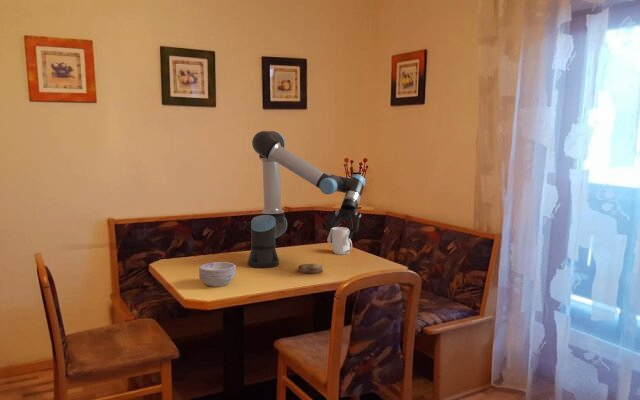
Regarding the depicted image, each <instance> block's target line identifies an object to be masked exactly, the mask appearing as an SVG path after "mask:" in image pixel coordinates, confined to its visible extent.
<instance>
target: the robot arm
mask: <svg viewBox="0 0 640 400" xmlns="http://www.w3.org/2000/svg"><path fill="white" fill-rule="evenodd" d="M251 143H252V148H253V150H254V152H255V153H257V154H258V156H259V160H260V161H261V162H262V180H263V181H262V183H263V184H262V185H263V210H262V211H261V212H260V213H261V215H257V216H254V217H252V219H251V222H250V223H251V224H250V229H251V230H250V235H251V237H250V238H251V248H250V249H251V250H250V252H249V256H248V259H247V266H249V267H250V268H257V269H267V268H274V267H275V268H276V267H277V266H279V265H280V258H279V256H278V253H277V250H276V239H277V238H279V237H281V236H283V235H284V233H286V231H287V229H288V221H287V218H286V216H285V211H284V210H283V209H282V201H281V200H282V197H281V194H282V193H281V166H283V167H284V168H285V169H287V170H289V171H290V172H292V173H293V174H295V175H297V176H298V177H300V178H302V179H303V180H305V181H307V182H308V183H309V184H311V185H313V186H315V187H316V188H317V189H319V191H320V192H321V193H323V194H324V195H333V194H335V193H336V192H339V193H344V197H343V200H342V203H341V205H340V208H339V210H335V209H333V210H332V214H331V216H330V218H329V219H328V222H327V224H326V225H325V227H326V229H327V230H328V231H327V238H326V241H327V244H331V243H332V228H333V227H338V225H339V224H340V223H342V222H343V221H345V220H347V221H348V225H349V230H348V233H347V235H346V238H345V241H344V242H345V245H348V242H349V239H350V240H351V239H352V238H353V235H354V233H359V227H360V220H361V217H362V214H361V213H362V212H360V211H359V212H357V210H358V207H359V204H360V200H361V199H362V194H363V191H364V189H365V185H366V182H367V181H366V179H365V177H364V176H363V175H361V174H359V173H358V174H357V173H356V174H353V175H352V176H351V177H345V176H342V175H335V174H328V173H325V171H322V170H321V169H319V168H317V167H316V166H314V165H313V164H311V163H309V162H308V161H306V160H305V159H302V158H301V157H299V156H298V155H296V154H294V153H293V152H291V151H290V150H288V149H287V148H285V146H286V141H285V138H284V137H283V135H282V134H281V133H279V132H276V131H275V130H273V131H272V130H260V131H258V132H257V133H255V134H254V136H253V138H252V141H251ZM354 217H355V219H354V220H355V221H354V223H353V218H354ZM353 224H354V225H353Z"/></svg>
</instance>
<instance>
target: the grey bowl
mask: <svg viewBox="0 0 640 400" xmlns="http://www.w3.org/2000/svg"><path fill="white" fill-rule="evenodd" d="M198 269H199V271H198V276H199V279H200V280H202V281H203V282H204V284H205V285H206V286H208V287H209V286H210V287H224V285H225V286H228V285H229V284H230V283H231V281H232V279H234V278H236V275H237V271H236V270H237V269H236V264H235V263H232V262H229V261H217V262H215V261H214V262H207V263H204V264H201V265H200V266H199V267H198Z"/></svg>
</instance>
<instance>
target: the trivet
mask: <svg viewBox="0 0 640 400" xmlns="http://www.w3.org/2000/svg"><path fill="white" fill-rule="evenodd" d="M298 272H299V273H301V274H304V275H314V274H316V273H317V274H320V273H322V272H323V266H322V265H321V264H318V263H303V264H299V266H298Z"/></svg>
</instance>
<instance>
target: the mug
mask: <svg viewBox="0 0 640 400" xmlns="http://www.w3.org/2000/svg"><path fill="white" fill-rule="evenodd" d="M352 242H353V241H352V240H351V239H349V242H348V245H347V251H344V252H338V251H333V254H334V255H338V254H339V255H340V256H344V255H345V256H346V255H349V254H350V252H351V251H352V249H353V243H352Z"/></svg>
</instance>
